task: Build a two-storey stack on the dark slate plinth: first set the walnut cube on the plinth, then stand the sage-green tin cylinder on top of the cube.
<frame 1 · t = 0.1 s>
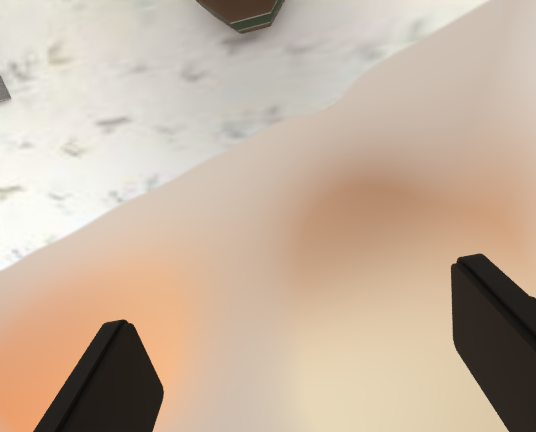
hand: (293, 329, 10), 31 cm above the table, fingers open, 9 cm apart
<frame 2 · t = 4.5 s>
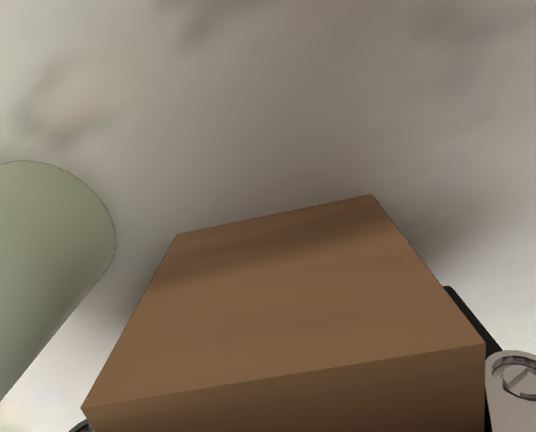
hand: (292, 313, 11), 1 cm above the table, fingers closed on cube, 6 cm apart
cube: (291, 295, 12), on the table, touching gripper
tin: (43, 230, 11), on the table
when the fingers open (5 cm above the table, at t = 9.6 s): cube stays where it is, resting on plinth.
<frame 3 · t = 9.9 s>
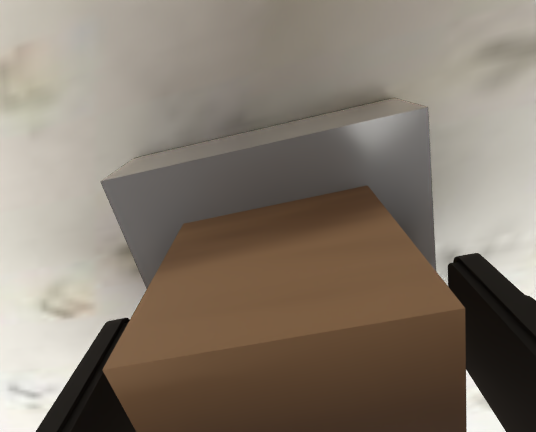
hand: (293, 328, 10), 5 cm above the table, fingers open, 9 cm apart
plinth: (286, 244, 15), on the table
cube: (291, 282, 12), point 3 cm above the table, touching plinth
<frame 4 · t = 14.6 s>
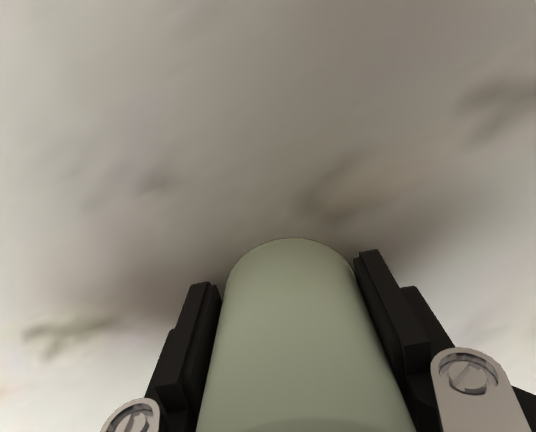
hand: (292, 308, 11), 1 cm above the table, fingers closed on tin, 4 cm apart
tin: (291, 297, 12), on the table, touching gripper
when the fingers open (10 cm above the table, at t = 20.1 s): tin stays where it is, resting on cube.
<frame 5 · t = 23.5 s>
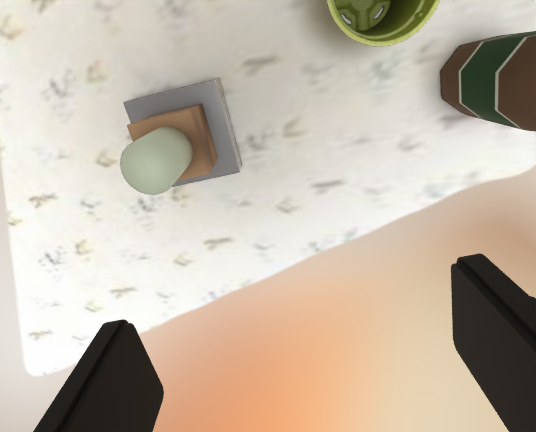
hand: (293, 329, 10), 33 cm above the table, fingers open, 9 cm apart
plinth: (189, 133, 41), on the table
cube: (184, 137, 38), point 3 cm above the table, touching plinth, tin
tin: (169, 150, 33), point 9 cm above the table, touching cube
beer bottle: (471, 76, 39), on the table
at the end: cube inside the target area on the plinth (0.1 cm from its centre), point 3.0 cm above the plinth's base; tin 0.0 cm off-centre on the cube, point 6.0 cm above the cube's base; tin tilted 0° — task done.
